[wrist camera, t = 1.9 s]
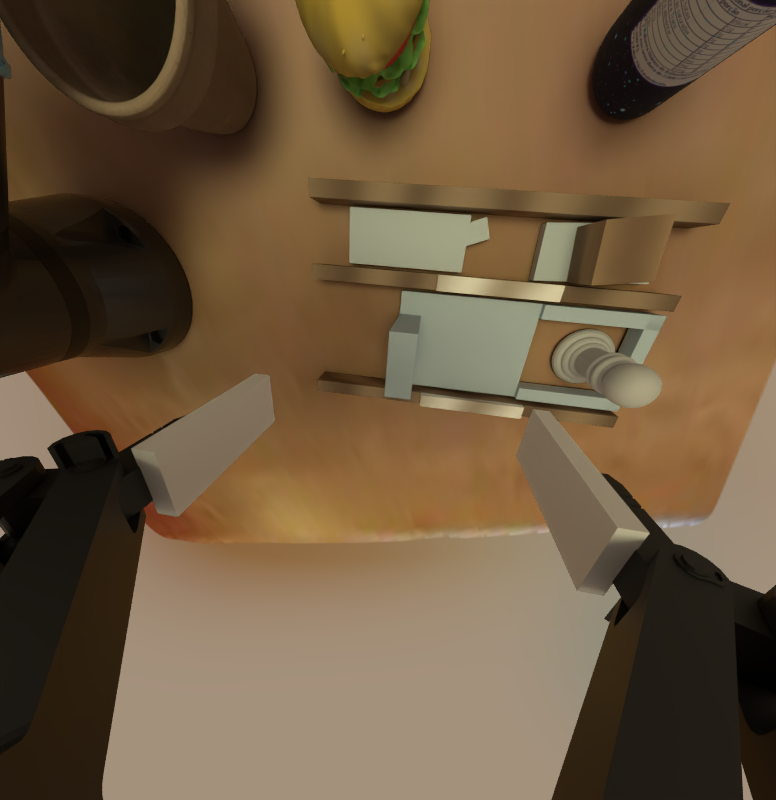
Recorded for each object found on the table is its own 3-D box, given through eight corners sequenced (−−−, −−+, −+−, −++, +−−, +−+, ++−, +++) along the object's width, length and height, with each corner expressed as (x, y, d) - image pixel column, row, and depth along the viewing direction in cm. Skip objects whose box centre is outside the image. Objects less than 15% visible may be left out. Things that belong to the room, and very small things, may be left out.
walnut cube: (566, 282, 23) (591, 285, 20) (577, 226, 22) (606, 219, 18) (618, 279, 23) (654, 282, 19) (634, 222, 21) (676, 213, 17)
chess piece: (624, 344, 26) (711, 379, 18) (582, 389, 28) (642, 438, 20) (576, 317, 25) (644, 342, 17) (538, 366, 28) (582, 407, 20)
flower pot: (120, -28, 20) (-138, -273, 11) (270, -55, 18) (116, -366, 9) (178, 175, 25) (35, 125, 16) (298, 166, 23) (217, 104, 14)
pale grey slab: (394, 377, 30) (382, 418, 22) (403, 289, 26) (391, 300, 18) (607, 403, 28) (677, 458, 20) (651, 312, 24) (761, 336, 16)
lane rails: (325, 381, 32) (315, 392, 29) (319, 186, 24) (305, 175, 21) (598, 415, 29) (616, 431, 26) (698, 209, 21) (739, 201, 18)
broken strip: (352, 264, 26) (349, 264, 25) (353, 204, 24) (349, 202, 23) (635, 289, 24) (645, 290, 23) (663, 225, 22) (675, 223, 21)
